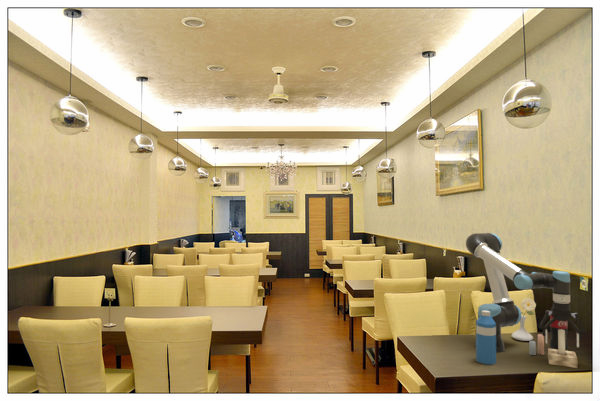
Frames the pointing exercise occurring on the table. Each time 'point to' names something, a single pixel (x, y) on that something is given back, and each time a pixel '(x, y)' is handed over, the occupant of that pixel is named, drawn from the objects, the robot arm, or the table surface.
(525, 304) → the flower in vase
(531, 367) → the table surface
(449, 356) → the table surface
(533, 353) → the short pin
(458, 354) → the table surface
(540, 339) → the medium pin
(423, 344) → the table surface
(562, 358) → the block
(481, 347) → the water bottle
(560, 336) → the long pin
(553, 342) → the cola bottle
